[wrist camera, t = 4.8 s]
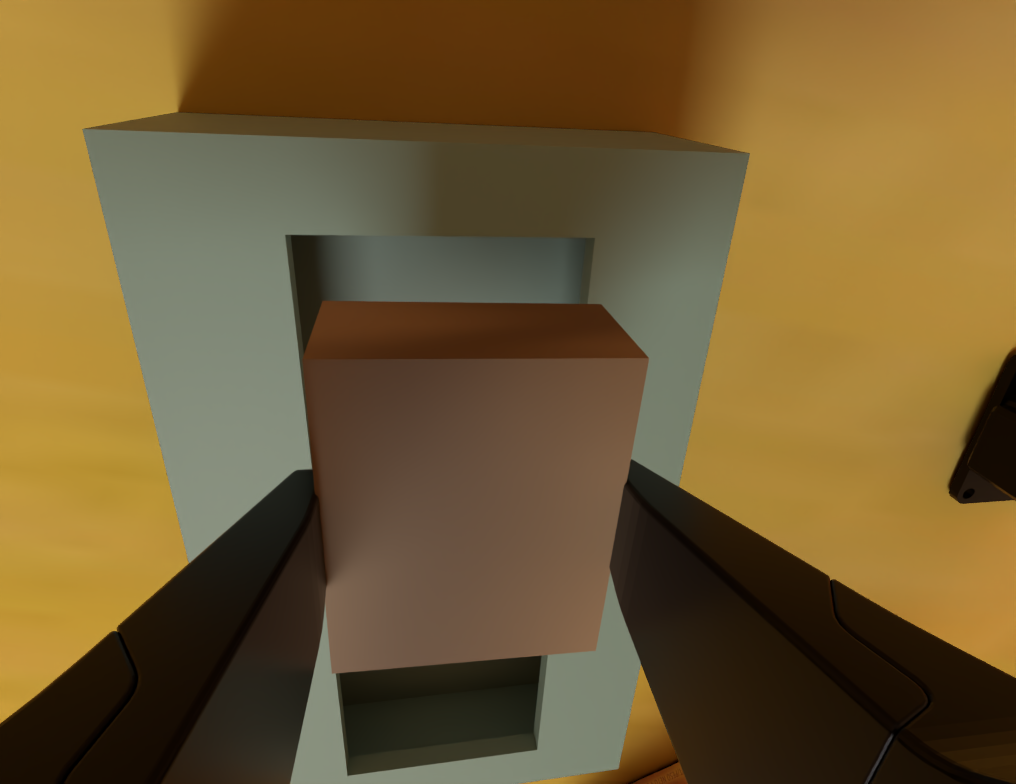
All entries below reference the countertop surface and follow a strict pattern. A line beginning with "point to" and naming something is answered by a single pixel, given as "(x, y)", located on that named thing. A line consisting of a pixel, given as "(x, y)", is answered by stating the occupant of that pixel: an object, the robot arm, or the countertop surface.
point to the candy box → (665, 776)
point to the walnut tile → (468, 475)
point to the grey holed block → (406, 278)
